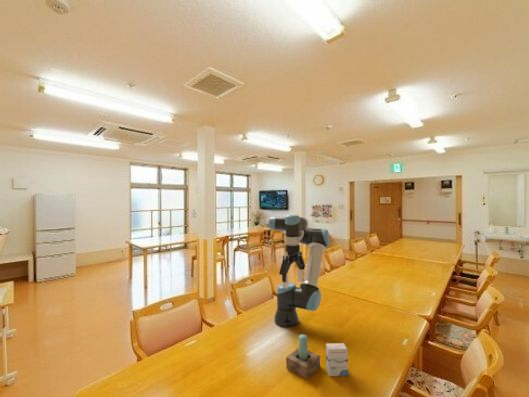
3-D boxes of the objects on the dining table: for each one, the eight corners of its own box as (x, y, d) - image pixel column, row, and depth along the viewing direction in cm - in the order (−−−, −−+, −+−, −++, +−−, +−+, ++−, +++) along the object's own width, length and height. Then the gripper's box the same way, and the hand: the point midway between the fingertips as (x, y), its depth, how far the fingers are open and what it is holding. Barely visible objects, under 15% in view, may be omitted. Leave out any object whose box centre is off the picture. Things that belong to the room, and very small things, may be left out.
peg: (297, 367, 116) (296, 337, 116) (302, 363, 119) (301, 333, 119) (304, 371, 113) (304, 340, 113) (309, 367, 116) (309, 336, 116)
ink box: (344, 368, 115) (344, 342, 115) (348, 376, 110) (348, 348, 110) (325, 368, 115) (325, 342, 115) (328, 376, 110) (328, 349, 110)
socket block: (286, 368, 116) (286, 357, 116) (299, 356, 124) (299, 346, 124) (307, 379, 108) (307, 367, 108) (320, 366, 117) (319, 355, 117)
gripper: (284, 248, 123) (284, 292, 123) (311, 242, 141) (311, 280, 141) (272, 246, 128) (272, 289, 128) (300, 240, 146) (300, 277, 146)
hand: (292, 284), depth 135 cm, fingers open, 13 cm apart
